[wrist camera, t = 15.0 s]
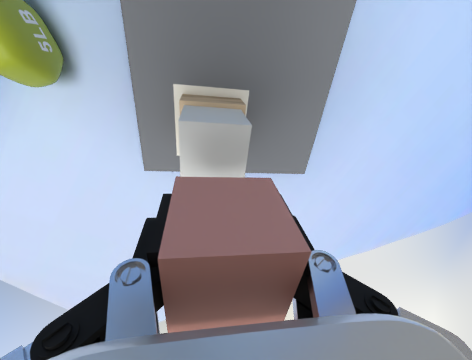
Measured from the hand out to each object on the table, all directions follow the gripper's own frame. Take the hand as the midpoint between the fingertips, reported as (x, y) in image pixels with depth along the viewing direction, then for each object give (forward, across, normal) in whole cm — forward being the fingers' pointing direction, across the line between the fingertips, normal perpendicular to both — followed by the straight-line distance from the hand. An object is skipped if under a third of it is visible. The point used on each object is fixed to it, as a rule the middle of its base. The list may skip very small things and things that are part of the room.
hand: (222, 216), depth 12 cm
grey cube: (+14, 0, 0) cm, 14 cm away
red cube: (0, 0, 0) cm, 0 cm away
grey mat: (+18, -3, -4) cm, 19 cm away
